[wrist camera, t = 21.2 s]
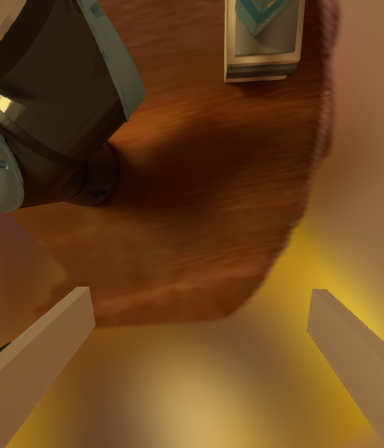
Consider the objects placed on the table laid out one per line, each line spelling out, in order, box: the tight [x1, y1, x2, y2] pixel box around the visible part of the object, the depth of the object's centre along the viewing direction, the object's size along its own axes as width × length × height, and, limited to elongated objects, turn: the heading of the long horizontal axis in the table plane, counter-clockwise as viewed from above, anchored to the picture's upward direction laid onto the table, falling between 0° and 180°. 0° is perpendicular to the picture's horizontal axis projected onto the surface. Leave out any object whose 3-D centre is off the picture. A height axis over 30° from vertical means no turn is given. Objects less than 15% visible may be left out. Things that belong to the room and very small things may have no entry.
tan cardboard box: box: [224, 0, 305, 83], centre depth 31 cm, size 11×17×6 cm, turn 1°
